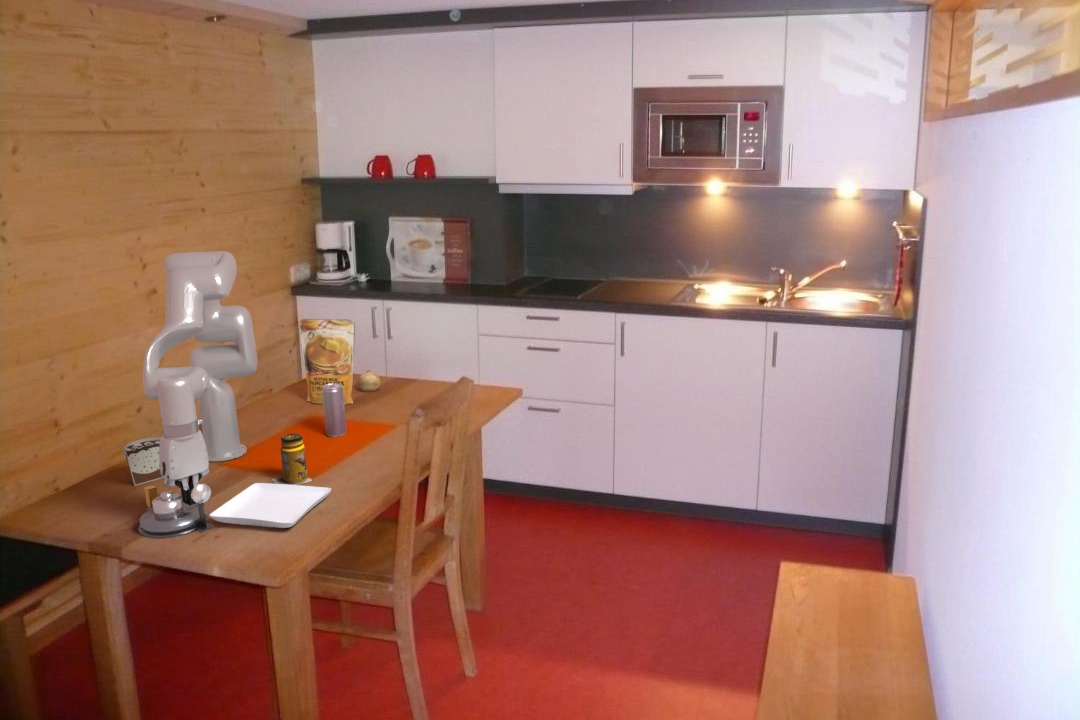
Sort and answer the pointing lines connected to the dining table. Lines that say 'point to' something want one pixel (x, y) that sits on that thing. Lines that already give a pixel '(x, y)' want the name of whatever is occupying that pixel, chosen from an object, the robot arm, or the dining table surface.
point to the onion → (369, 381)
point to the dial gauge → (201, 504)
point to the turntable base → (169, 534)
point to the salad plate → (270, 505)
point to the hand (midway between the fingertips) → (190, 503)
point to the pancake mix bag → (327, 355)
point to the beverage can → (334, 409)
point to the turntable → (167, 527)
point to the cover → (168, 506)
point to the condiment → (293, 461)
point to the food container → (143, 460)
